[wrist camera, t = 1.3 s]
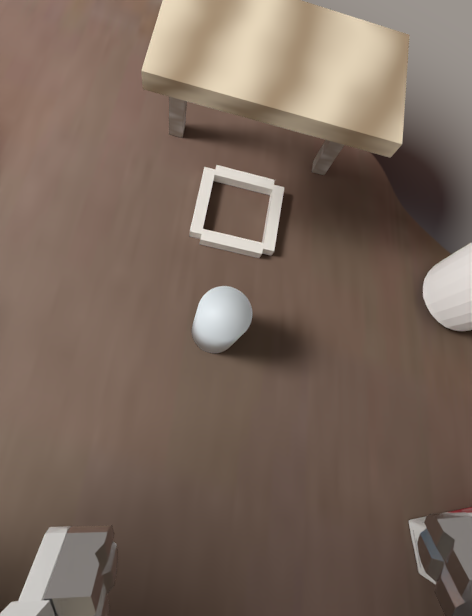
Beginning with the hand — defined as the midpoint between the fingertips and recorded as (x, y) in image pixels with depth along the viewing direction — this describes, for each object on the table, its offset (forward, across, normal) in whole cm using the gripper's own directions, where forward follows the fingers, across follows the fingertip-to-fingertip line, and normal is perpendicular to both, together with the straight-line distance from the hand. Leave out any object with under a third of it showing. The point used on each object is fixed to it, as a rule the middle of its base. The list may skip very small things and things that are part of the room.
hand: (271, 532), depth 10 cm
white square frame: (+36, -1, +1) cm, 36 cm away
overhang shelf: (+38, -2, -2) cm, 38 cm away
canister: (+27, +2, +10) cm, 29 cm away
